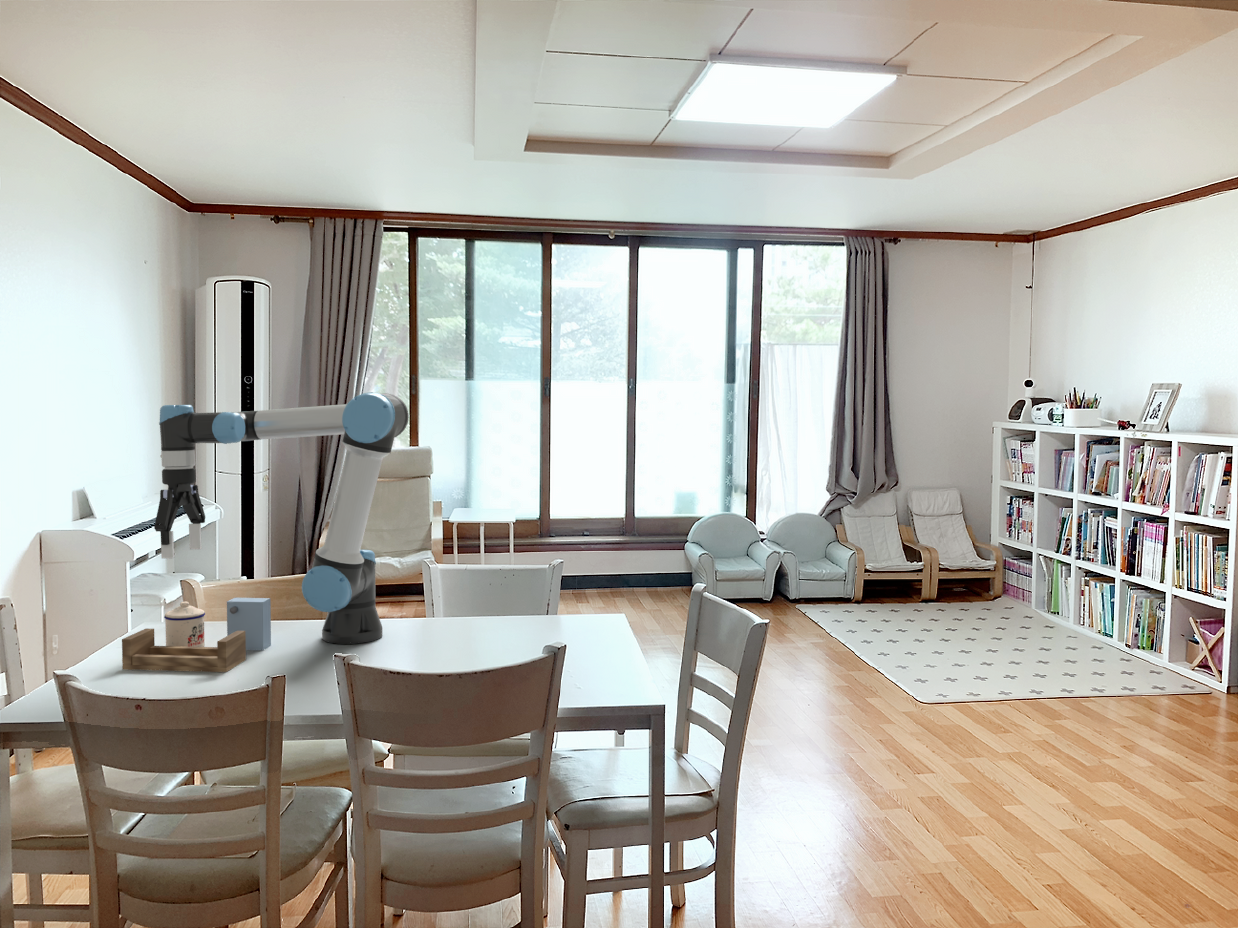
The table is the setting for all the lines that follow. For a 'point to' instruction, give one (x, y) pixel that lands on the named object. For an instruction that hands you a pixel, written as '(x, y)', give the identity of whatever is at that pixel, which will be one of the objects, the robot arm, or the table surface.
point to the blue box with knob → (251, 621)
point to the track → (182, 654)
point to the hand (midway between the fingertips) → (182, 553)
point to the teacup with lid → (185, 626)
